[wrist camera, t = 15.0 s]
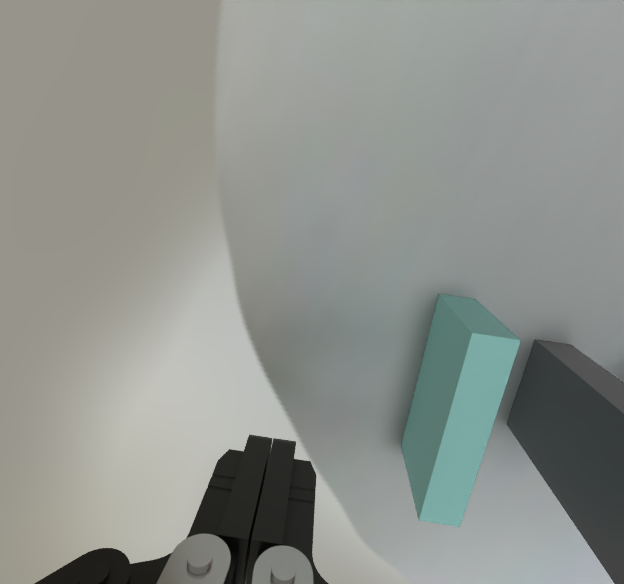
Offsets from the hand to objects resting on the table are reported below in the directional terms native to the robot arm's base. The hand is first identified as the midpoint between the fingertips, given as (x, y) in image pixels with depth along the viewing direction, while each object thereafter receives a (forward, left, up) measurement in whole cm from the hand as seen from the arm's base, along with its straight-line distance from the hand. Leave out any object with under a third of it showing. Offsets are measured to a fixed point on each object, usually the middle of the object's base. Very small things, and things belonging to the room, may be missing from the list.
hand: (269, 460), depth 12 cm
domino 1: (-7, +5, -6) cm, 11 cm away
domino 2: (-13, 0, -8) cm, 15 cm away
